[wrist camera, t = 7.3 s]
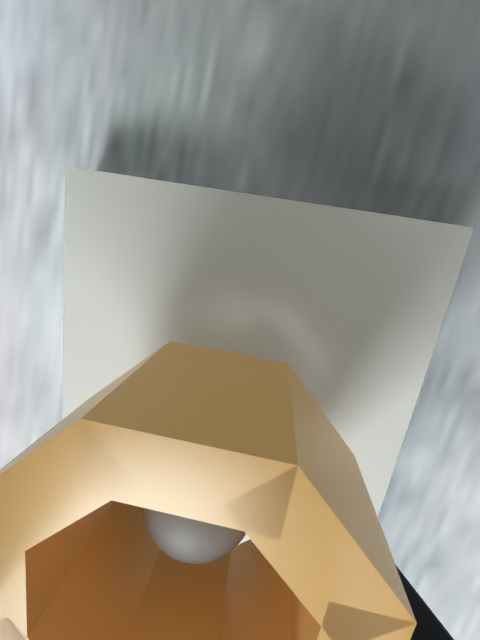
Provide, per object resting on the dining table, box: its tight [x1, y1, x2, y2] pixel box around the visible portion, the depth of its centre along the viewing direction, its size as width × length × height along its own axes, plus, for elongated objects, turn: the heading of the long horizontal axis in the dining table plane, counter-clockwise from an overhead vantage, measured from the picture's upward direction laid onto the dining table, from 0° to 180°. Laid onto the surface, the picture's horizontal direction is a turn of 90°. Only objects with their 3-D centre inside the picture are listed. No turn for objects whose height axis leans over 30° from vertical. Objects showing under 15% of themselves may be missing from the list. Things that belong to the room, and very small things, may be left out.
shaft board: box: [62, 166, 474, 564], centre depth 9 cm, size 12×15×6 cm
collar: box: [0, 341, 417, 640], centre depth 6 cm, size 7×7×4 cm
